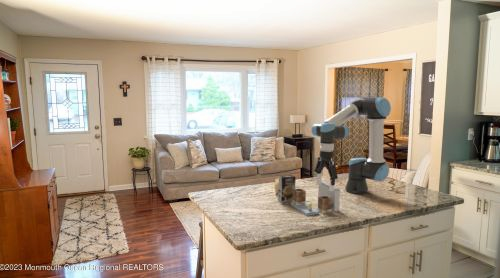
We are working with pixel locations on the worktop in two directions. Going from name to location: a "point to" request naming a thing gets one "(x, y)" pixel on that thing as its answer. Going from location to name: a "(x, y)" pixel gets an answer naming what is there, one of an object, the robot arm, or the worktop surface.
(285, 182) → the coffee box
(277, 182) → the sculpture
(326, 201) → the sleeve
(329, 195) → the feeder housing
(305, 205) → the pin board
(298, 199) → the sleeve
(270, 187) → the worktop surface
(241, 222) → the worktop surface
